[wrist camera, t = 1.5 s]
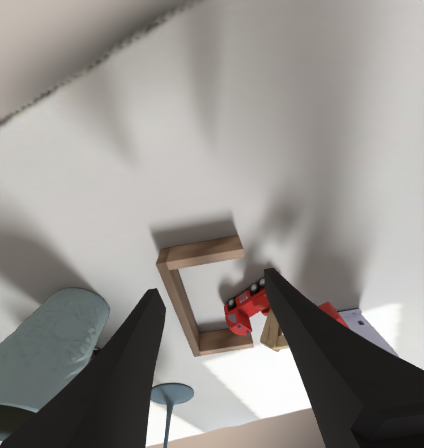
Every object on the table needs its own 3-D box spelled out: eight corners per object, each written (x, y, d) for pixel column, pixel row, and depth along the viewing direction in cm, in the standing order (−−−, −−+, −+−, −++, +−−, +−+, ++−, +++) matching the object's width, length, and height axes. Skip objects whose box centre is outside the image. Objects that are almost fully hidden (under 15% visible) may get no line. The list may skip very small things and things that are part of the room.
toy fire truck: (220, 304, 27) (229, 379, 19) (292, 256, 24) (345, 322, 15) (233, 313, 29) (247, 388, 20) (303, 269, 25) (358, 337, 16)
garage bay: (238, 235, 22) (243, 248, 19) (249, 329, 31) (253, 347, 28) (161, 248, 22) (155, 264, 19) (194, 338, 31) (194, 356, 28)
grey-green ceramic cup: (101, 281, 24) (18, 396, 13) (124, 324, 28) (77, 437, 18) (29, 288, 24) (-114, 411, 13) (64, 331, 28) (-20, 449, 17)
